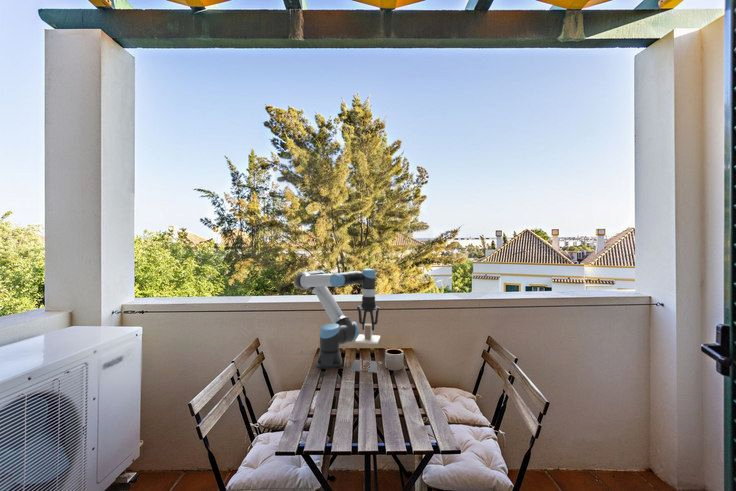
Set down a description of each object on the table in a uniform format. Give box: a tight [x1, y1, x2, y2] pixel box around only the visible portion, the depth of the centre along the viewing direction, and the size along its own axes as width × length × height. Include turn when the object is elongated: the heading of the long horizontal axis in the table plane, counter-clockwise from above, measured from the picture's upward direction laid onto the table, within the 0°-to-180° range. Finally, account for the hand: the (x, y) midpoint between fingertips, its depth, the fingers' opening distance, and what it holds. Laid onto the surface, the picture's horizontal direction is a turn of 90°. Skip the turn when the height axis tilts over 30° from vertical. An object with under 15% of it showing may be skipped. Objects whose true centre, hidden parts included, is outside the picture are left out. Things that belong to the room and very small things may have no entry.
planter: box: [384, 348, 404, 371], centre depth 217 cm, size 11×11×10 cm
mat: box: [349, 359, 383, 374], centre depth 217 cm, size 17×17×1 cm
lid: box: [354, 322, 382, 345], centre depth 216 cm, size 13×13×9 cm
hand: (368, 335), depth 216 cm, fingers closed on lid, 3 cm apart
